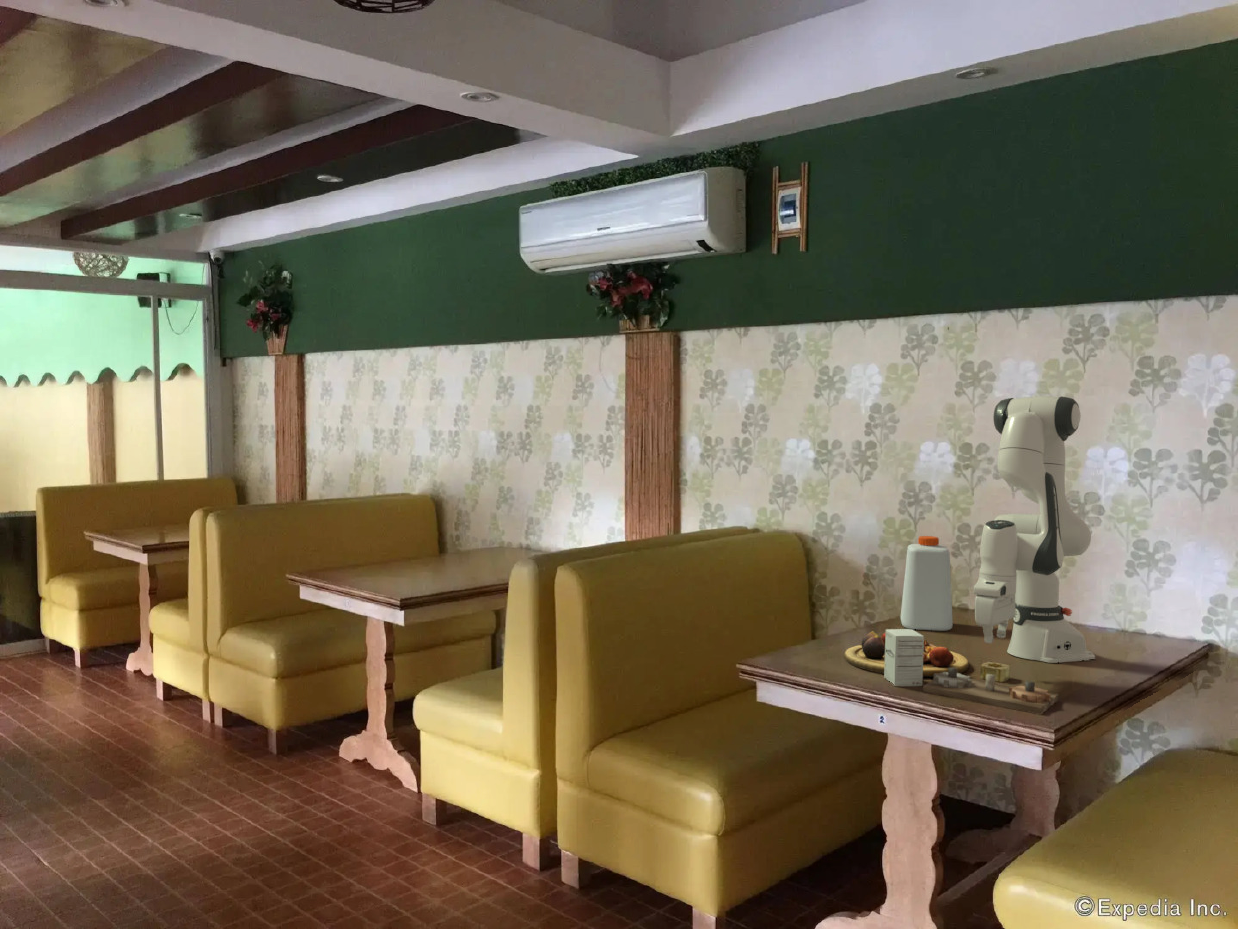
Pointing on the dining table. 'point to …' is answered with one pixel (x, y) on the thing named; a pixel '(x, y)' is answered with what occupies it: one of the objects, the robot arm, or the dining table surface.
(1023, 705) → the gear board
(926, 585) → the plastic bottle
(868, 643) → the wooden plate with food
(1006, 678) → the brass gear
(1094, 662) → the dining table surface
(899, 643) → the supplement box
